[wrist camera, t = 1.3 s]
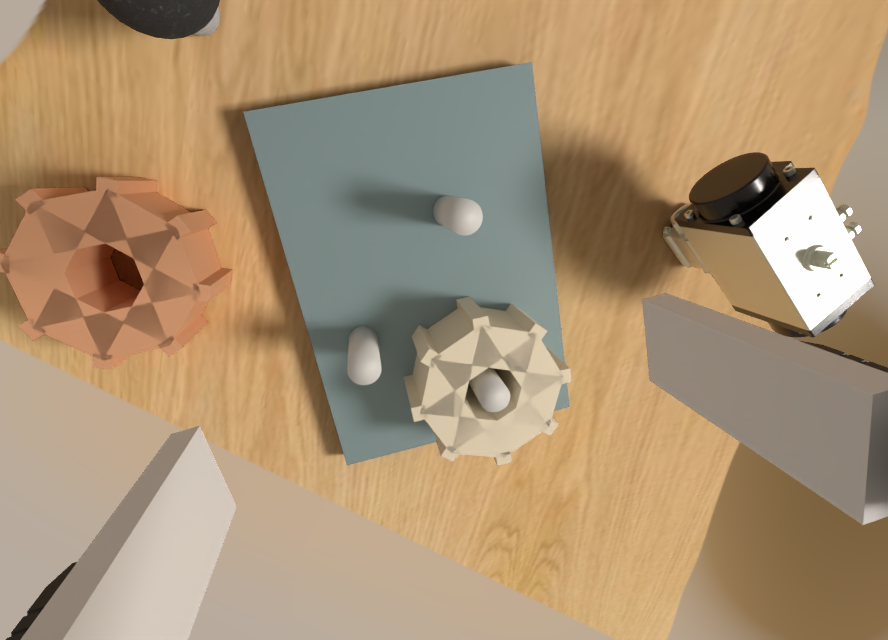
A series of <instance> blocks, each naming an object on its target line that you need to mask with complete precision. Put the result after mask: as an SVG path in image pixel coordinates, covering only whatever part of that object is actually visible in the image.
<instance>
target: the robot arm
mask: <svg viewBox="0 0 888 640" xmlns="http://www.w3.org/2000/svg"><path fill="white" fill-rule="evenodd" d="M642 304H643V315H644V325H645V336H646V346H647V357H648V367H649V378H650V381H651V382H653V383H654V384H656V385H657V386H659V387H660V388H661V389H663V390H664V391H666V392H667V393H669V394H670V395H672V396H673V397H675V398H676V399H678V400H679V401H681V402H682V403H684V404H685V405H687V406H688V407H690V408H691V409H692V410H694V411H695V412H697V413H698V414H700V415H701V416H703V417H704V418H706V419H707V420H709V421H710V422H712V423H713V424H715V425H716V426H718V427H719V428H721V429H722V430H723V431H725V432H726V433H728V434H729V435H731V436H732V437H734V438H735V439H737V440H738V441H740V442H741V443H743V444H744V445H746V446H747V447H749V448H750V449H752V450H753V451H754V452H756V453H757V454H759V455H761V456H762V457H763V458H765V459H766V460H768V461H769V462H771V463H772V464H774V465H775V466H777V467H778V468H780V469H781V470H783V471H784V472H786V473H787V474H788V475H790V476H791V477H793V478H794V479H796V480H797V481H799V482H800V483H802V484H803V485H805V486H806V487H808V488H809V489H811V490H812V491H814V492H815V493H817V494H818V495H819V496H821V497H823V498H824V499H825V500H827V501H828V502H830V503H831V504H833V505H834V506H836V507H837V508H839V509H840V510H842V511H843V512H845V513H846V514H848V515H849V516H851V517H852V518H853V519H855V520H856V521H858V522H859V523H861V524H862V525H864V524H867V523H870V522H872V521H875V520H878V519H881V518H884V517H887V516H888V368H887V367H884V366H881V365H878V364H876V363H873V362H868V363H867V362H866V360H864V359H861V358H858V357H855V356H853V355H848V356H847V355H846V353H844V352H841V351H839V350H836V349H833V348H830V347H827V346H824V345H820V344H814V343H809V342H803V341H797V340H795V339H792V338H789V337H786V336H783V335H781V334H778V333H775V332H772V331H770V330H767V329H764V328H761V327H758V326H756V325H753V324H750V323H747V322H745V321H742V320H739V319H736V318H733V317H731V316H728V315H725V314H722V313H720V312H717V311H714V310H711V309H708V308H706V307H703V306H700V305H697V304H695V303H692V302H689V301H686V300H683V299H681V298H678V297H675V296H672V295H670V294H667V293H663V294H660V295H656V296H653V297H649V298H646V299H642ZM235 510H236V505H235V502H234V500H233V498H232V496H231V494H230V491H229V489H228V487H227V485H226V483H225V481H224V478H223V476H222V474H221V472H220V469H219V467H218V465H217V463H216V461H215V459H214V456H213V454H212V452H211V450H210V448H209V445H208V443H207V441H206V439H205V436H204V434H203V432H202V430H201V428H200V426H198V427H195V428H191V429H188V430H184V431H181V432H177V433H174V434H171V435H170V436H169V438H168V439H167V441H166V442H165V443H164V445H163V446H162V447H161V449H160V450H159V451H158V453H157V454H156V456H155V457H154V458H153V460H152V461H151V462H150V464H149V465H148V466H147V468H146V469H145V470H144V472H143V473H142V475H141V476H140V477H139V479H138V480H137V481H136V483H135V484H134V486H133V487H132V488H131V490H130V491H129V492H128V494H127V495H126V496H125V498H124V499H123V501H122V502H121V503H120V505H119V506H118V507H117V509H116V510H115V511H114V513H113V514H112V515H111V517H110V518H109V520H108V521H107V522H106V524H105V525H104V526H103V528H102V529H101V531H100V532H99V533H98V535H97V536H96V537H95V539H94V540H93V541H92V543H91V544H90V546H89V547H88V548H87V550H86V551H85V552H84V554H83V555H82V556H81V558H80V559H79V561H78V562H75V563H72V564H71V565H70V566H69V567H68V568H67V569H66V570H65V571H63V572H62V573H61V574H60V575H59V576H58V577H57V578H56V579H55V580H53V581H52V582H51V583H50V584H49V585H48V586H47V587H46V588H45V589H44V591H43V592H42V593H41V594H40V596H39V597H38V598H37V600H36V601H35V602H34V604H33V605H32V606H31V608H30V609H29V610H28V612H27V613H28V614H27V616H25V617H23V618H22V619H21V621H20V622H19V623H18V625H17V626H16V627H15V629H14V630H13V631H12V632H11V634H12V636H11V637H9V638H7V639H6V640H188V638H189V635H190V632H191V629H192V627H193V624H194V621H195V619H196V616H197V613H198V610H199V608H200V605H201V602H202V600H203V597H204V594H205V591H206V589H207V586H208V583H209V580H210V578H211V575H212V572H213V570H214V567H215V564H216V561H217V559H218V556H219V553H220V551H221V548H222V545H223V542H224V540H225V537H226V534H227V532H228V529H229V526H230V523H231V521H232V518H233V515H234V512H235Z"/></svg>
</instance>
